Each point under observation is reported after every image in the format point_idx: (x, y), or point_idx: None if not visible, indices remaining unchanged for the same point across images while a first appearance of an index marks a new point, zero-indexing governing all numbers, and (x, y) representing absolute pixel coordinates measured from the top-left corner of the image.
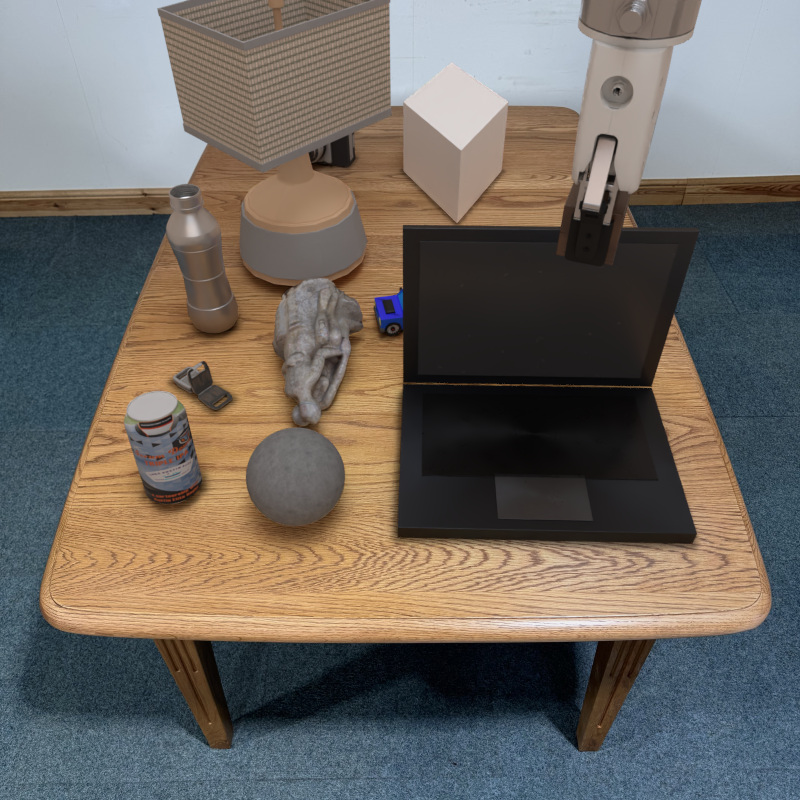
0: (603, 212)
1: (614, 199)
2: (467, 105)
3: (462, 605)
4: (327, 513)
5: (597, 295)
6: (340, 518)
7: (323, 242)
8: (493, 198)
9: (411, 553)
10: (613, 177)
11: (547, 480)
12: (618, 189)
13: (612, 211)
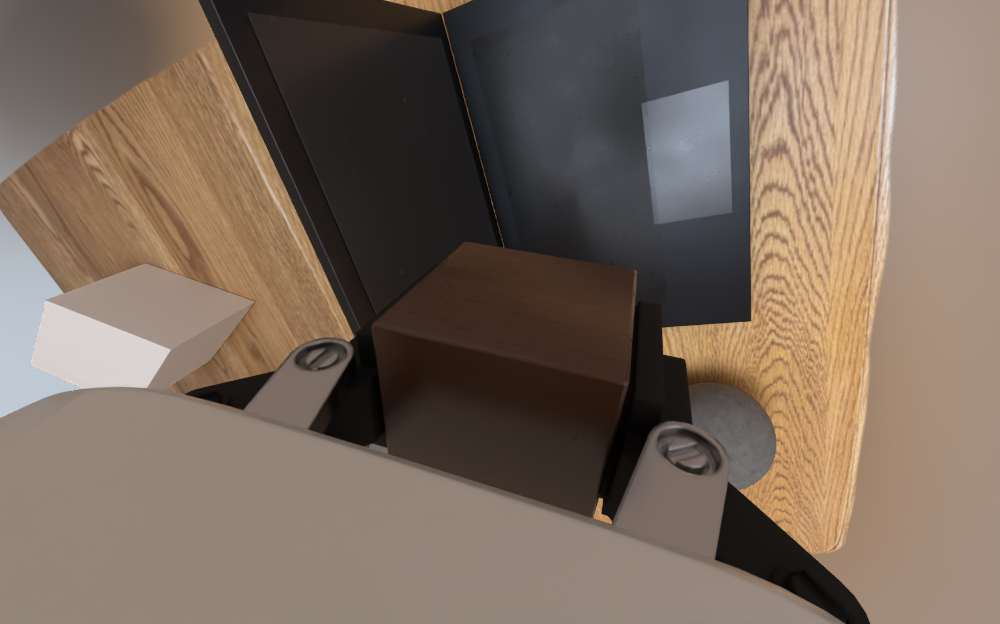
0: (860, 619)
1: (710, 556)
2: (88, 346)
3: (854, 232)
4: (746, 393)
5: (390, 156)
6: (722, 366)
7: (379, 449)
8: (194, 267)
9: (770, 295)
10: (351, 398)
11: (657, 155)
12: (412, 376)
13: (717, 497)
